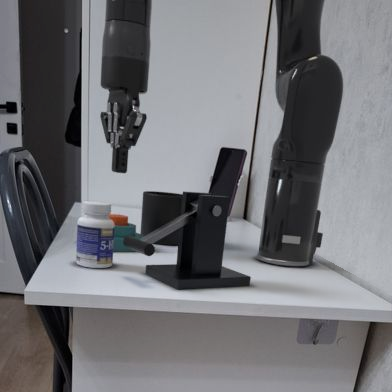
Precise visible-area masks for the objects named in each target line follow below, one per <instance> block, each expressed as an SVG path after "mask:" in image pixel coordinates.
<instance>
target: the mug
mask: <svg viewBox="0 0 392 392" xmlns="http://www.w3.org/2000/svg"><path fill="white" fill-rule="evenodd" d="M182 196H183V193H177V192H167V191H156V190H155V191H154V190H153V191H152V190H151V191H150V190H146V191H143V192H142V203H141V204H142V205H141V218H140V219H141V221H140V234H141V235H144V236H146V235H148V234H150V233H151V232H153V231H155V230H157V229H159V228H160V227H162V226H164V225H166V224H167V223H169V222H171V221H173V220H174V219H176V218H178V217H180V216H181V207H182ZM179 230H180V228H179V229H177V230H175V231H174V232H172V233H170V234H168V235H167V236H165V237H163V238H161V239H160V240H158V241H156V242H154V243H153V244H156V245H164V246H178V241H179Z"/></svg>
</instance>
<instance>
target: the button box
mask: <svg viewBox="0 0 392 392" xmlns="http://www.w3.org/2000/svg"><path fill="white" fill-rule="evenodd" d="M126 236H132V237H134V238H137V239H141V238H143V237H144V235H141V233H139V232H137V224H134V223H131V222H128V226H116V225H114V245H113V252H136V251H135V250H132V249H130V248H128V247H125V246H124V244H123V240H124V238H125V237H126Z"/></svg>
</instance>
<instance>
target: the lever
mask: <svg viewBox="0 0 392 392" xmlns="http://www.w3.org/2000/svg"><path fill="white" fill-rule="evenodd" d="M190 205H191V208H192V210H190V211H189V212H187V213H185V214H183V215H181V216H180V217H178V218H176V219H174V220H173V221H171V222H169V223H167V224H166V225H164V226H162V227H160V228H159V229H157V230H155V231H153V232H151V233H150V234H148V235H146V236H144V237H143V238H141V239H137V238H134V237H132V236H126V237H125V238H124V240H123V244H124V246H125V247H128V248H130V249H132V250H135V251H134V252H137V253H140V254H142V255H144V256H146V257H151V256H153V255H154V254H155V252H156V248H155V246H154V244H155V243H154V242H156V241H158V240H160V239H161V238H163V237H165V236H167V235H168V234H170V233H172V232H174V231H175V230H177V229H179V228H181V227H182V226H184V225H186V224H187V223H189V222H191V221H193V220H194V219H197V209H198V199H197V200H195V201H193V202H192V203H190Z"/></svg>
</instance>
